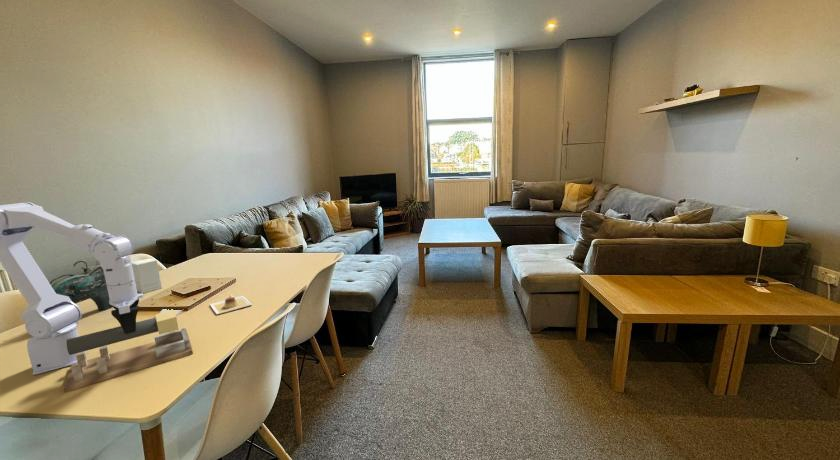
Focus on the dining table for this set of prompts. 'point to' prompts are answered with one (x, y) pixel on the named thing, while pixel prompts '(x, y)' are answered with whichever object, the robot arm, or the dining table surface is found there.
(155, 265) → the supplement box
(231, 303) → the dessert
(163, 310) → the smartphone
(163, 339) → the board
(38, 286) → the robot arm
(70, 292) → the dark green irregular piece
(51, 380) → the dining table surface
